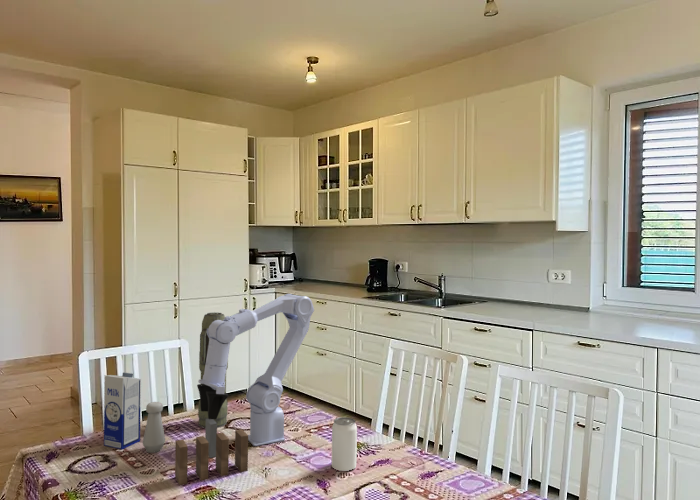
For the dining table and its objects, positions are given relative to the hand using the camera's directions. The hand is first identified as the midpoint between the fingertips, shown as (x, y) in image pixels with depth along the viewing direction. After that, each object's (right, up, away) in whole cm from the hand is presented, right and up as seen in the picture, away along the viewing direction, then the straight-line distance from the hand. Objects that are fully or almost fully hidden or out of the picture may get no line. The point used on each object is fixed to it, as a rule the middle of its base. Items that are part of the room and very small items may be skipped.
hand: (208, 414), depth 139 cm
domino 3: (+1, -11, 0) cm, 11 cm away
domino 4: (+6, -11, -10) cm, 16 cm away
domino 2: (+2, -11, -13) cm, 17 cm away
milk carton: (-26, -10, +7) cm, 29 cm away
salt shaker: (-16, -11, +2) cm, 19 cm away
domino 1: (-2, -11, -15) cm, 19 cm away
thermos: (-5, -11, +24) cm, 26 cm away
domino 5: (+11, -11, -8) cm, 17 cm away
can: (+37, -12, -6) cm, 39 cm away
